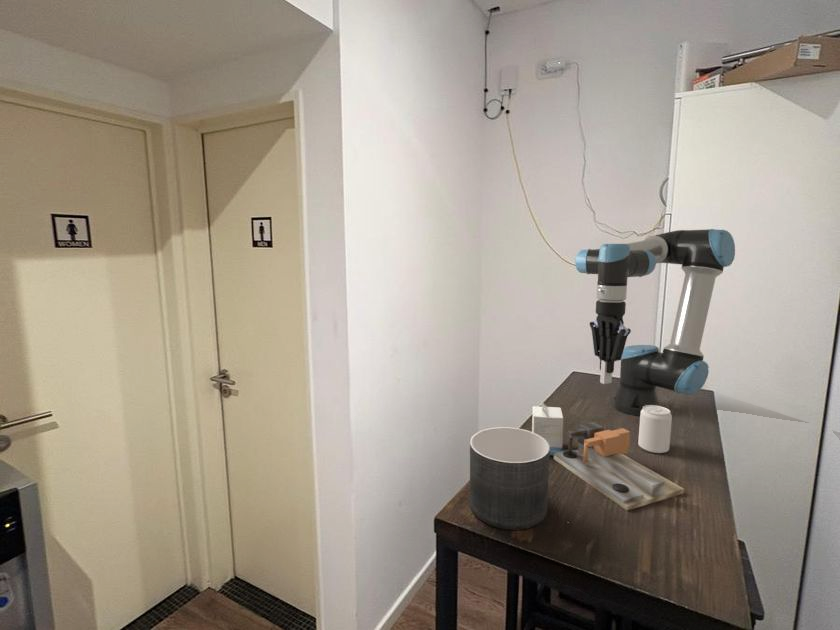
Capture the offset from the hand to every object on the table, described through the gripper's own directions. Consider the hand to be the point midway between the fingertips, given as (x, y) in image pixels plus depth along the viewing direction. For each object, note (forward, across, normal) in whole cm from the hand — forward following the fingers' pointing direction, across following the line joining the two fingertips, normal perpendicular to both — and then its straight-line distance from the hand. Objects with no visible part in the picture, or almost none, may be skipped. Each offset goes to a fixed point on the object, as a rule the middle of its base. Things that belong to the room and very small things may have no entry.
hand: (605, 382), depth 126 cm
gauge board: (+21, +11, -7) cm, 25 cm away
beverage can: (+21, +4, +15) cm, 26 cm away
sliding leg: (+18, +7, -6) cm, 20 cm away
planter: (+21, +12, -40) cm, 47 cm away
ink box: (+21, -8, -14) cm, 26 cm away
